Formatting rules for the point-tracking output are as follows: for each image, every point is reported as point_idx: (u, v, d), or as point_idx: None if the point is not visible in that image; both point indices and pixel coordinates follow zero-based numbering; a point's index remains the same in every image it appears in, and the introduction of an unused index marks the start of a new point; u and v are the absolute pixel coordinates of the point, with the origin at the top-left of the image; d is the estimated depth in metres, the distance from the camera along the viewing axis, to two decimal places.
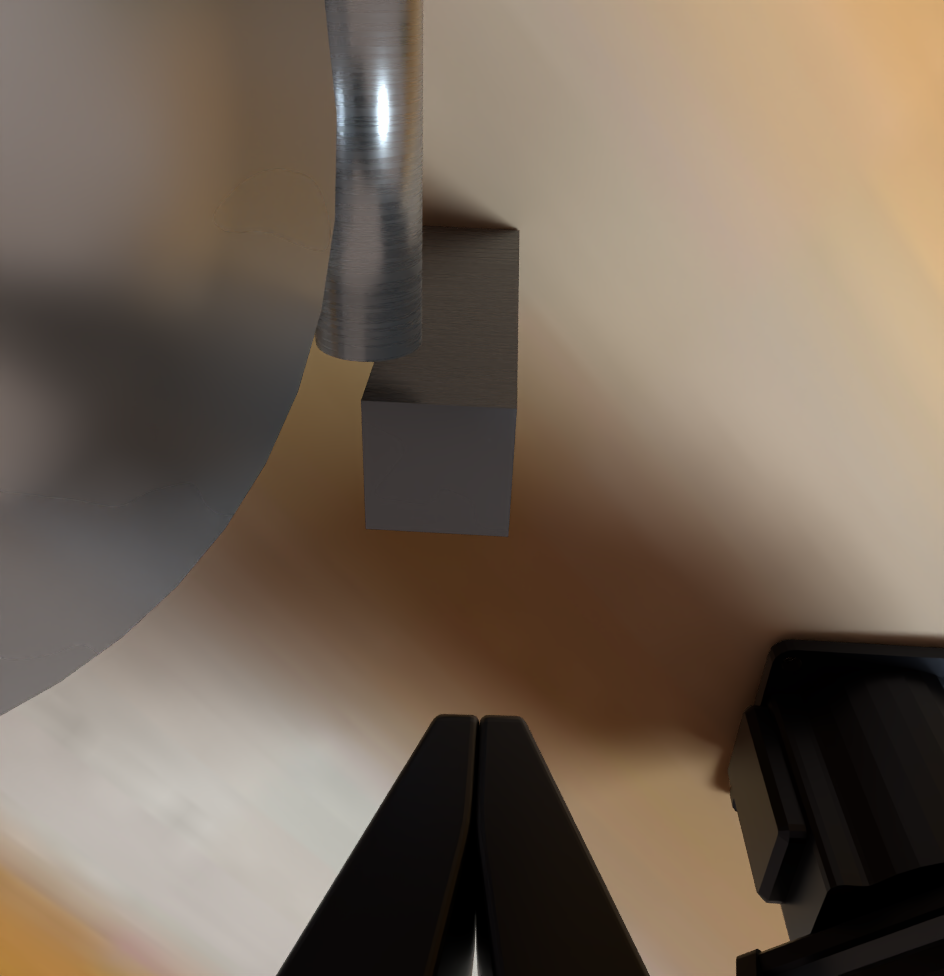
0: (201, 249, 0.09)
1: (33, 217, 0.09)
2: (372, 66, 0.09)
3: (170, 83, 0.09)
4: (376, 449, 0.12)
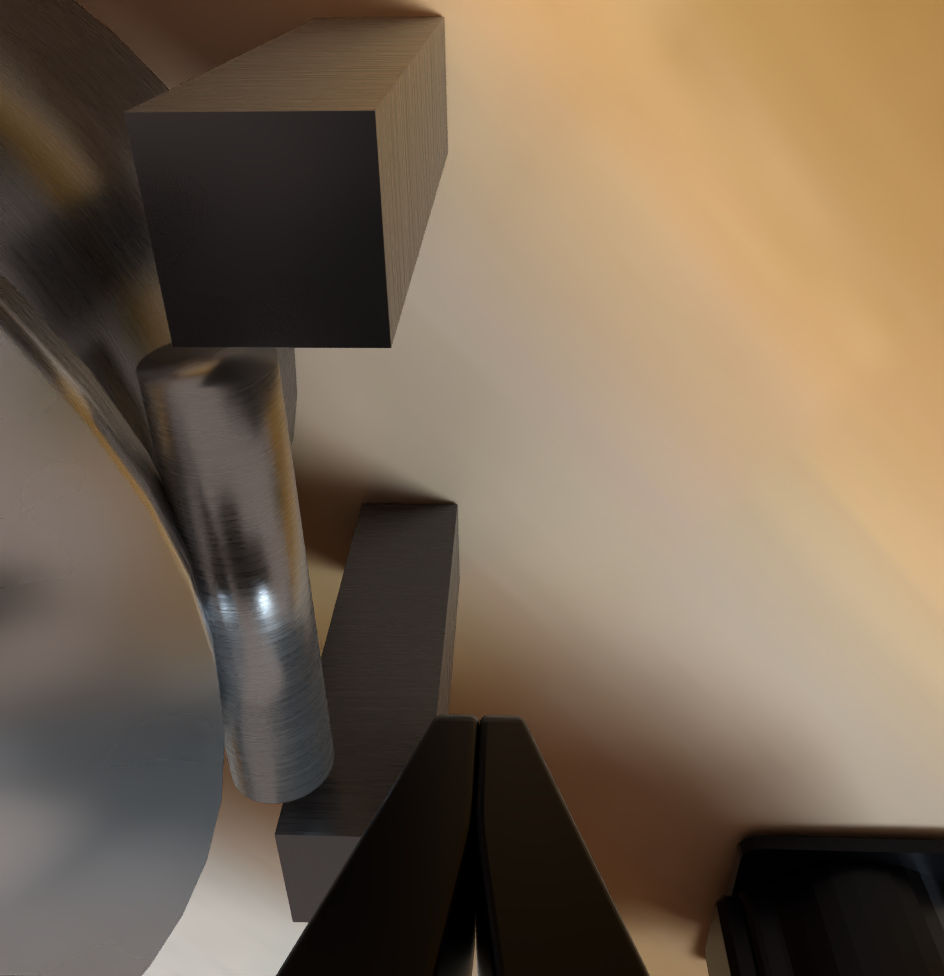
0: (96, 783, 0.10)
1: None
2: (251, 601, 0.10)
3: (49, 679, 0.09)
4: (294, 867, 0.12)
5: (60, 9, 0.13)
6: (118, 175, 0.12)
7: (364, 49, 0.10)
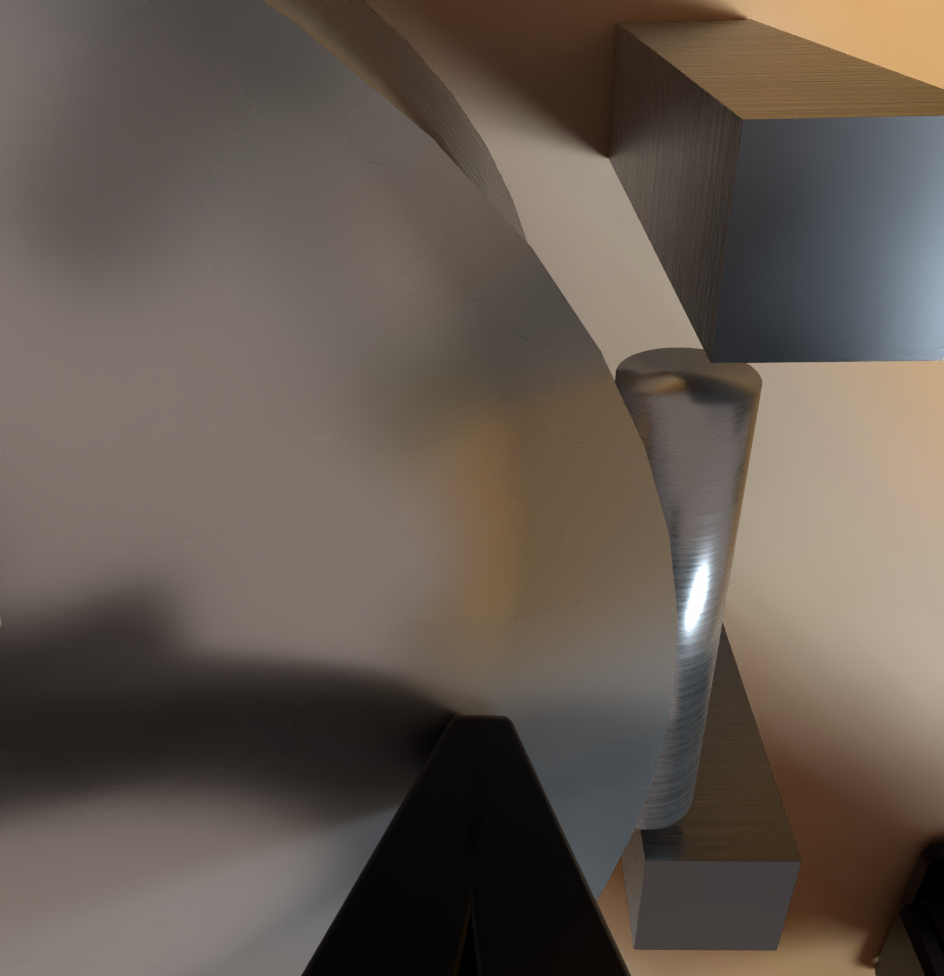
0: None
1: None
2: (694, 623, 0.10)
3: (530, 709, 0.09)
4: (654, 894, 0.12)
5: (369, 16, 0.13)
6: None
7: (781, 52, 0.10)
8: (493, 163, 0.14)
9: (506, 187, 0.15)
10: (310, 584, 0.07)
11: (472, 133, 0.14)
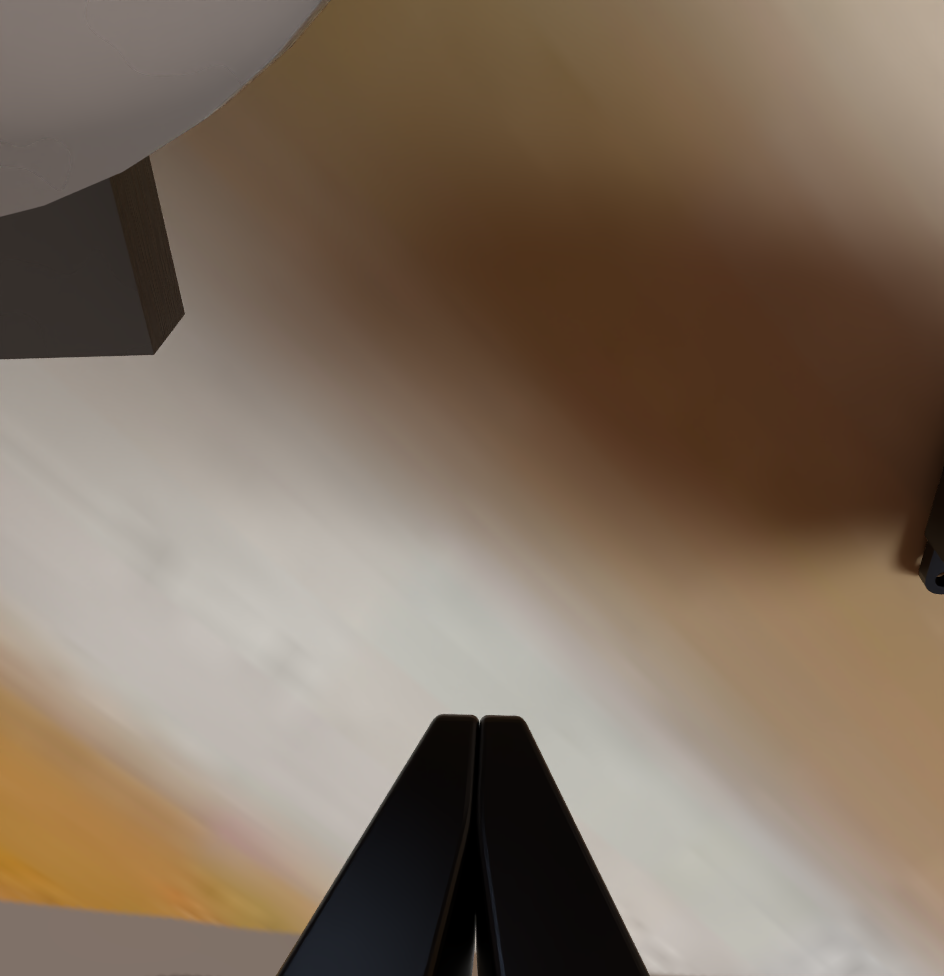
0: None
1: None
2: None
3: None
4: None
5: None
6: None
7: None
8: None
9: None
10: None
11: None
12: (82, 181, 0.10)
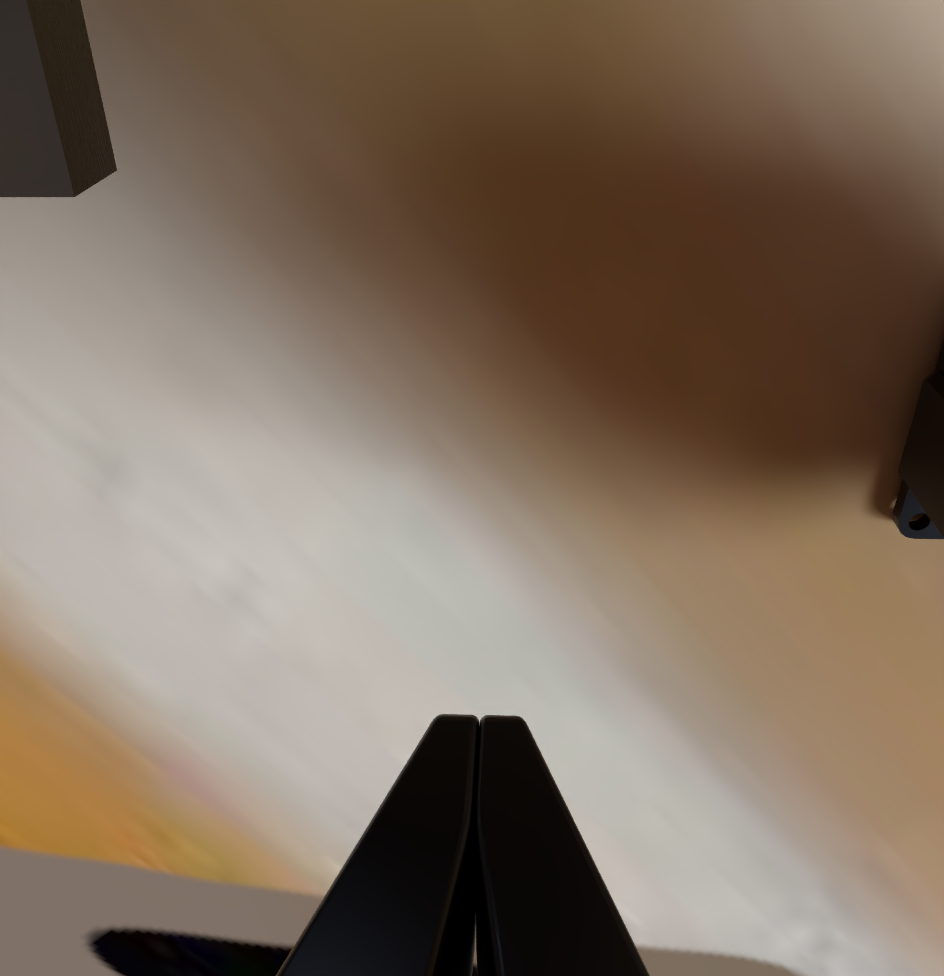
0: None
1: None
2: None
3: None
4: None
5: None
6: None
7: None
8: None
9: None
10: None
11: None
12: None
